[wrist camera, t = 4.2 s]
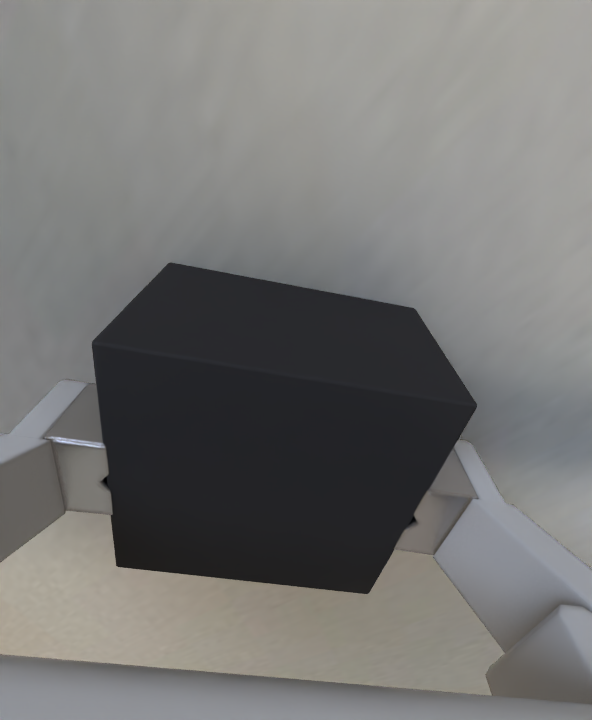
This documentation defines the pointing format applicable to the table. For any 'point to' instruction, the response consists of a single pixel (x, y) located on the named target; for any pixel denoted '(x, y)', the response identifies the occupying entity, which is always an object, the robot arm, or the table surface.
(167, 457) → the black cube
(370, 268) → the table surface
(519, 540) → the robot arm
